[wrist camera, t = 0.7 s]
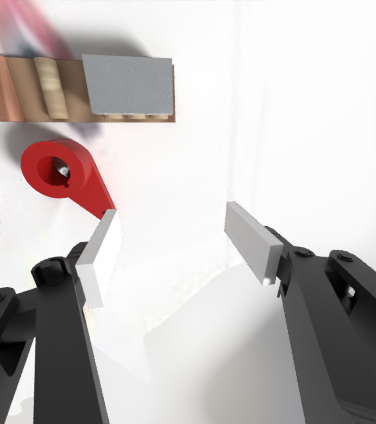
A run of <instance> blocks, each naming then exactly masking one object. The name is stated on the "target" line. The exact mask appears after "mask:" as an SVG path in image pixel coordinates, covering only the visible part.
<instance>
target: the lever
mask: <svg viewBox="0 0 376 424" xmlns="http://www.w3.org/2000/svg"><path fill="white" fill-rule="evenodd" d="M56 157H57V158H60V159H61V160H63V161H64V162H65V163H66V164H67V165H68V167H69V169H70V174H71V175H70V177H67V176H64V175H63V174H61V173H60V172H59V171H58V169H57V168H56V165H55V159H56ZM21 170H22V173H23V176H24V177H25V179H26V181H27V182H28V183H29V185H30V186H31V187H32V188H34V189H35V190H36V191H38V192H39V193H41V194H43V195H45V196H48V197H52V198H67V197H69V198H70V199H71V200H73V201H74V202H76V203H77V204H79V205H80V206H81V207H83V208H84V209H86V210H87V211H89V212H90V213H91V214H93V215H94V216H96V217H97V218H98V219H100V220H101V219H102V218H103V216H104V214H105V210H106V211H107V209H116V208H115V206H114V204H113V201H112V199H111V197H110V195H109V193H108V190H107V188H106V186H105V184H104V182H103V179H102V177H101V175H100V173H99V171H98V168H97V166H96V164H95V162H94V160H93V157H92V156H91V154H90V153H89V151H88V150H87V149H86V148H85V147H83V146H82V145H81V144H79V143H77V142H75V141H72V140H67V139H60V140H51V141H42V142H37V143H34V144H32V145H30V146H29V147H28V148H27V149H26V150H25V151H24V153H23V155H22V158H21Z"/></svg>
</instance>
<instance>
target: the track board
mask: <svg viewBox="0 0 376 424" xmlns="http://www.w3.org/2000/svg"><path fill="white" fill-rule="evenodd" d="M53 60H55V61H56V63H57V68H58V72H59V77H60V81H61V85H62V90H63V94H64V99H65V103H66V108H67V112H68V116H69V119H51V118H49V114H48V110H47V107H46V103H45V99H44V95H43V91H42V87H41V84H40V80H39V76H38V72H37V68H36V65H35V61H34V58H15V57H3V56H1V55H0V121H3V122H175V90H174V65H172V86H173V114H172V115H168V119H151V115H145V117H146V119H128V115H122V118H123V119H105V118H104V115H97V114H94V113H92V110H91V105H90V99H89V94H88V88H87V83H86V77H85V72H84V66H83V61H79V60H57V59H53Z"/></svg>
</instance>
